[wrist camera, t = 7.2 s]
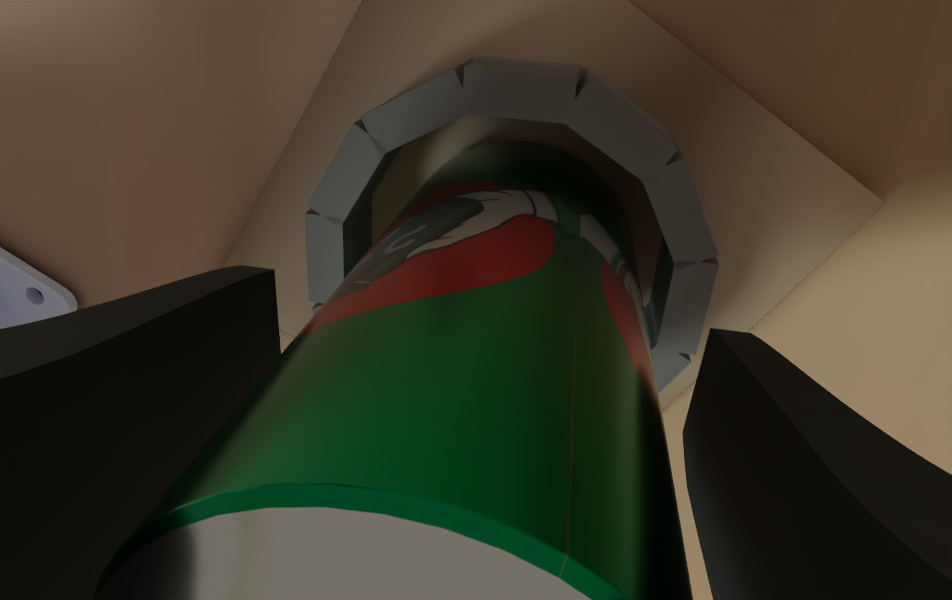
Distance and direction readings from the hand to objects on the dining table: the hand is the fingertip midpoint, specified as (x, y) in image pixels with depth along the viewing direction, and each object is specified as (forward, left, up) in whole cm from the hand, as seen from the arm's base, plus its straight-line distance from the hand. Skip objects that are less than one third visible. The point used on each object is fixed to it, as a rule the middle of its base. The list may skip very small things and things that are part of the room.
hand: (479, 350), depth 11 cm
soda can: (0, 0, -5) cm, 5 cm away
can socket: (0, 0, -5) cm, 5 cm away
